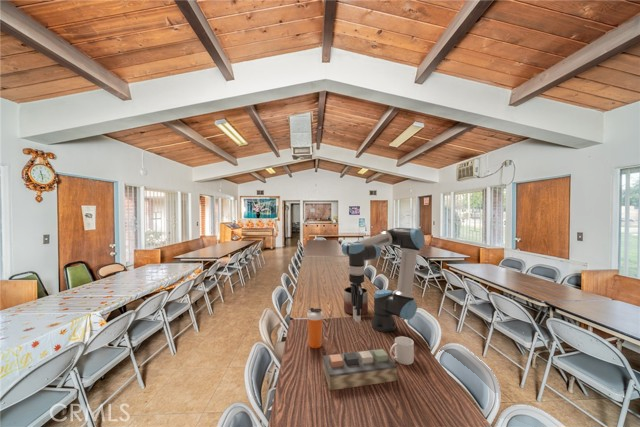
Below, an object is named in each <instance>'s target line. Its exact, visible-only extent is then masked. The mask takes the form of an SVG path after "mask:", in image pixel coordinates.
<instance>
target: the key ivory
mask: <svg viewBox="0 0 640 427" xmlns="http://www.w3.org/2000/svg"><path fill="white" fill-rule="evenodd" d="M361 351H362V352H359V351H358V352H359V360H360V361H361V363H362V364H367V363H373V356H372V354H371V353H370V352H369V351H367V350H361Z"/></svg>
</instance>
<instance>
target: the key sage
mask: <svg viewBox="0 0 640 427" xmlns="http://www.w3.org/2000/svg"><path fill="white" fill-rule="evenodd" d="M378 349H379V350H376V349H372V350H373V357H374V359H375V360H376V362H383V361H388V356H389V355H388V354H387V352H386V351H385V350H384V349H383V348H378Z"/></svg>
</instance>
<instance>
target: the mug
mask: <svg viewBox="0 0 640 427" xmlns="http://www.w3.org/2000/svg"><path fill="white" fill-rule="evenodd" d="M414 343H415V342H414V340H413V339H412V338H410V337H407V336H402V335H401V336H396V337H395V338H394V344H392V346H391V347H390V349H389V350H390V351H389V356H390V357H391V359H393V360H395V361H396V362H397V363H398V364H402V365H404V366H405V365H406V366H408V365H412V364H413V363H414V361H415V354H414V352H415V350H414V348H415V347H414V346H415V344H414ZM393 350H394V355H393Z"/></svg>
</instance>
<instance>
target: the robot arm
mask: <svg viewBox="0 0 640 427" xmlns="http://www.w3.org/2000/svg"><path fill="white" fill-rule="evenodd" d="M425 243H426V239H425V235H424V232H423V231H422V230H421V229H419V228H412V227H411V228H409V227H408V228H407V227H395V228H390V229H387V230H384V231H382V232H380V233H379V234H377V235H374V236H370V237H367V238H363V239H361V240H356V241H353V242H347V241H346V242H344V243H343V244H342V245H341V252H342V254H343V255H345V256H348V260H349V261H348V262H349V263H348V266H349V267H348V270H349V271H348V272H349V276H348V277H349V278H348V280H349V282H350V285H349V286H350V287H351V301H352V303H353V315H352V319H353V320H354V322H355V323H360V322H361V321H362V320H361V318H362V315H361V309H362V308H363V293H364V291H363V290H362V288H363V286H362V283H364V282H365V261H370V260H375V259H378V258H380V256H381V247H384V246H386V247H388V246H389V247H390V246H398V247H399V250H401V255H400V264H399V272H398V279H397V285H396V286H397V288H396V290H395V291H394V292H393V290H391V289H377V290H375V291H374V295H373V309H374V310H373V313H374V314H373V316H372V320H371V327H372V328H373V329H374V330H375V331H377V332H378V331H379V332H381V333H390V332H394V331H395V330H396V329H397V328H396V326H397V324H396V321H395V318H394V316H395V317H398V318H400V319H402V320H406V321H410V320H412V319H413V318H414V317H415V315H416V313H417V310H418V304H417V302H416V300H415V297H414V296H415V295H413V293H412V292H413V286H414V278H415V277H414V276H415V270H416V268H415V267H416V261H417V254H418V253H420V249H422V248H424V246H425Z"/></svg>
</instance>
